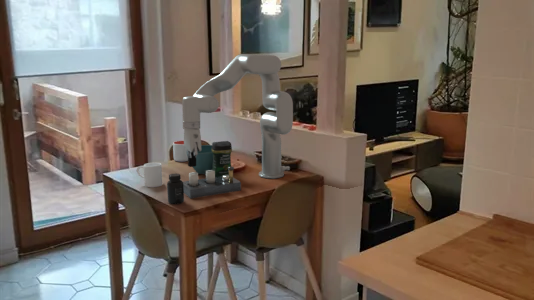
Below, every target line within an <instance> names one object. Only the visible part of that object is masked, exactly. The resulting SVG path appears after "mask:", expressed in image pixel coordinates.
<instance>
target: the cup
mask: <svg viewBox="0 0 534 300" xmlns="http://www.w3.org/2000/svg"><path fill="white" fill-rule="evenodd" d="M172 149H173V150H172V154H173V160H174V161H175V162H179V163H183V162H184V163H185V162H188V156H187V151H186V149H185V148H184V140H177V141H173V142H172Z"/></svg>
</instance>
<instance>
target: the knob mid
mask: <svg viewBox="0 0 534 300" xmlns="http://www.w3.org/2000/svg"><path fill="white" fill-rule="evenodd" d="M205 178H206V183H215V171H214V170H208V171H206V174H205Z"/></svg>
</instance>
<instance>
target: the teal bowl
mask: <svg viewBox="0 0 534 300" xmlns="http://www.w3.org/2000/svg"><path fill="white" fill-rule="evenodd" d="M186 151H187V149H186ZM197 153H198V155H196V166H195V167H192V168H193V170H194V171H195V172H196V173H198V175H206V171H208V170H212V168H213V153H212V145H211V144H205V145H204V144H203V145H202V144H201V151H200V152H199V151H197ZM187 156H188V152H187Z"/></svg>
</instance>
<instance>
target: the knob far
mask: <svg viewBox="0 0 534 300" xmlns="http://www.w3.org/2000/svg"><path fill="white" fill-rule="evenodd" d="M198 179H199V173H197V172H196V171H195V172H193V171H192V172H189V173H188V181H189V185H190V186H196V185H198Z"/></svg>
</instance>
